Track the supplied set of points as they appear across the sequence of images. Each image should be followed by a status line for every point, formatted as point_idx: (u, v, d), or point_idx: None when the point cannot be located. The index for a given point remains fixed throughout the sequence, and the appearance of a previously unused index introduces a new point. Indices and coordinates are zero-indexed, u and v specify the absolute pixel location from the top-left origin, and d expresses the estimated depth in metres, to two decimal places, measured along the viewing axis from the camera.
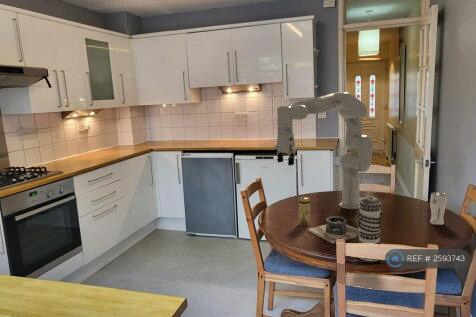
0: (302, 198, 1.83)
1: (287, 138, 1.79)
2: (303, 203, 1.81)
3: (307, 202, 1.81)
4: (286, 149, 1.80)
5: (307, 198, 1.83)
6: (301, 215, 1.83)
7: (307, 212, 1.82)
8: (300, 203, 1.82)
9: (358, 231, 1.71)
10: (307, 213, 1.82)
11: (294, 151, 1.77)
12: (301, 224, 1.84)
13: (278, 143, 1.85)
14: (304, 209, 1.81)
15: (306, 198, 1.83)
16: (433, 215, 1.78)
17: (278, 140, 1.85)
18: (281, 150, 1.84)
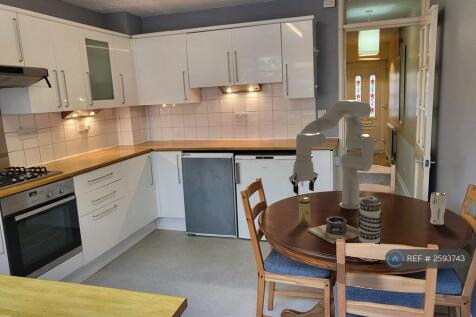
0: (302, 198, 1.83)
1: (312, 164, 1.80)
2: (303, 203, 1.81)
3: (307, 202, 1.81)
4: (312, 175, 1.81)
5: (307, 198, 1.83)
6: (301, 215, 1.83)
7: (307, 212, 1.82)
8: (300, 203, 1.82)
9: (358, 231, 1.71)
10: (307, 213, 1.82)
11: (317, 175, 1.84)
12: (301, 224, 1.84)
13: (302, 173, 1.77)
14: (304, 209, 1.81)
15: (306, 198, 1.83)
16: (433, 215, 1.78)
17: (302, 169, 1.77)
18: (305, 179, 1.79)
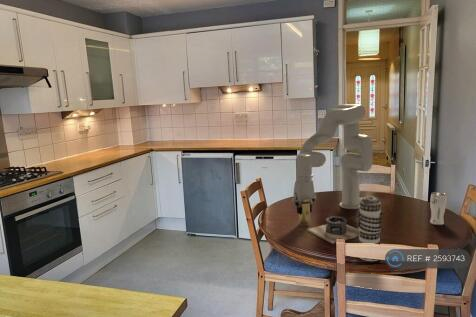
0: None
1: None
2: (303, 203, 1.81)
3: (307, 202, 1.81)
4: (313, 195, 1.83)
5: None
6: (301, 215, 1.83)
7: (307, 212, 1.82)
8: None
9: (358, 231, 1.71)
10: (307, 213, 1.82)
11: None
12: (301, 224, 1.84)
13: (302, 193, 1.79)
14: (304, 209, 1.81)
15: None
16: (433, 215, 1.78)
17: (302, 190, 1.79)
18: (306, 198, 1.81)
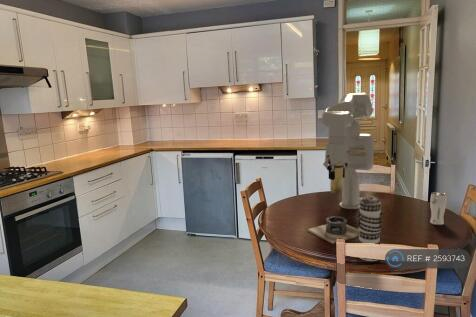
0: None
1: (346, 146, 1.66)
2: (336, 167, 1.65)
3: (340, 166, 1.65)
4: (346, 158, 1.67)
5: None
6: (333, 181, 1.67)
7: (340, 177, 1.66)
8: None
9: (358, 231, 1.71)
10: (340, 178, 1.66)
11: (349, 162, 1.70)
12: (333, 191, 1.67)
13: (335, 155, 1.63)
14: (337, 174, 1.65)
15: None
16: (433, 215, 1.78)
17: (335, 152, 1.63)
18: (339, 162, 1.65)
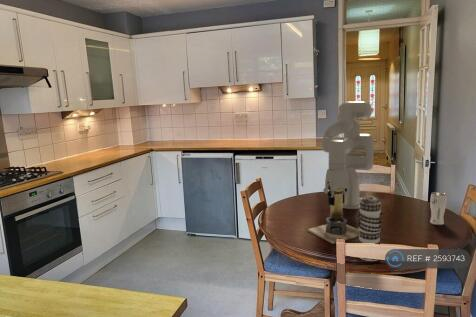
0: None
1: None
2: (336, 193, 1.67)
3: (340, 192, 1.67)
4: (346, 184, 1.69)
5: None
6: (333, 206, 1.69)
7: (340, 203, 1.68)
8: None
9: (358, 231, 1.71)
10: (340, 204, 1.68)
11: (348, 187, 1.72)
12: (333, 216, 1.70)
13: (335, 182, 1.65)
14: (336, 200, 1.67)
15: None
16: (433, 215, 1.78)
17: (335, 178, 1.65)
18: (339, 188, 1.67)
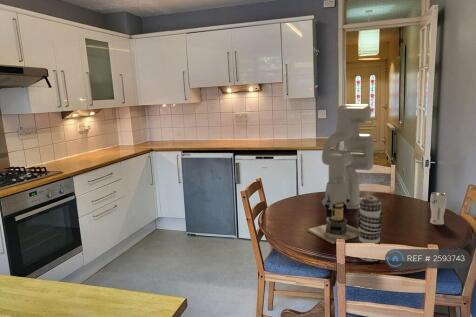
0: None
1: (346, 185, 1.70)
2: (336, 208, 1.68)
3: (341, 207, 1.68)
4: (346, 197, 1.70)
5: (340, 203, 1.70)
6: (333, 221, 1.70)
7: (340, 218, 1.69)
8: (333, 208, 1.69)
9: (358, 231, 1.71)
10: (340, 219, 1.69)
11: (350, 197, 1.74)
12: None
13: (335, 195, 1.66)
14: (337, 215, 1.69)
15: (339, 203, 1.70)
16: (433, 215, 1.78)
17: (335, 192, 1.66)
18: (339, 201, 1.68)
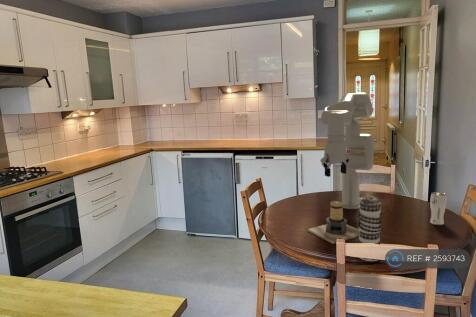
0: (334, 203, 1.70)
1: None
2: (336, 208, 1.68)
3: (340, 207, 1.68)
4: (345, 157, 1.68)
5: (340, 203, 1.70)
6: (333, 221, 1.70)
7: (340, 218, 1.69)
8: (332, 208, 1.70)
9: (358, 231, 1.71)
10: (340, 219, 1.69)
11: (349, 157, 1.72)
12: None
13: (334, 154, 1.65)
14: (336, 215, 1.69)
15: (338, 203, 1.70)
16: (433, 215, 1.78)
17: (334, 151, 1.64)
18: (338, 160, 1.66)
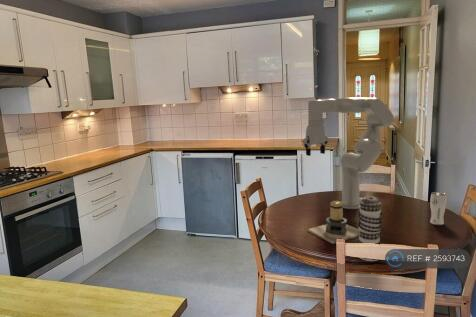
0: (334, 203, 1.70)
1: (323, 129, 1.94)
2: (336, 208, 1.68)
3: (340, 207, 1.68)
4: (323, 139, 1.95)
5: (340, 203, 1.70)
6: (333, 221, 1.70)
7: (340, 218, 1.69)
8: (332, 208, 1.69)
9: (358, 231, 1.71)
10: (340, 219, 1.69)
11: None
12: None
13: (314, 136, 1.91)
14: (336, 215, 1.69)
15: (338, 203, 1.70)
16: (433, 215, 1.78)
17: (314, 133, 1.91)
18: (317, 142, 1.93)
